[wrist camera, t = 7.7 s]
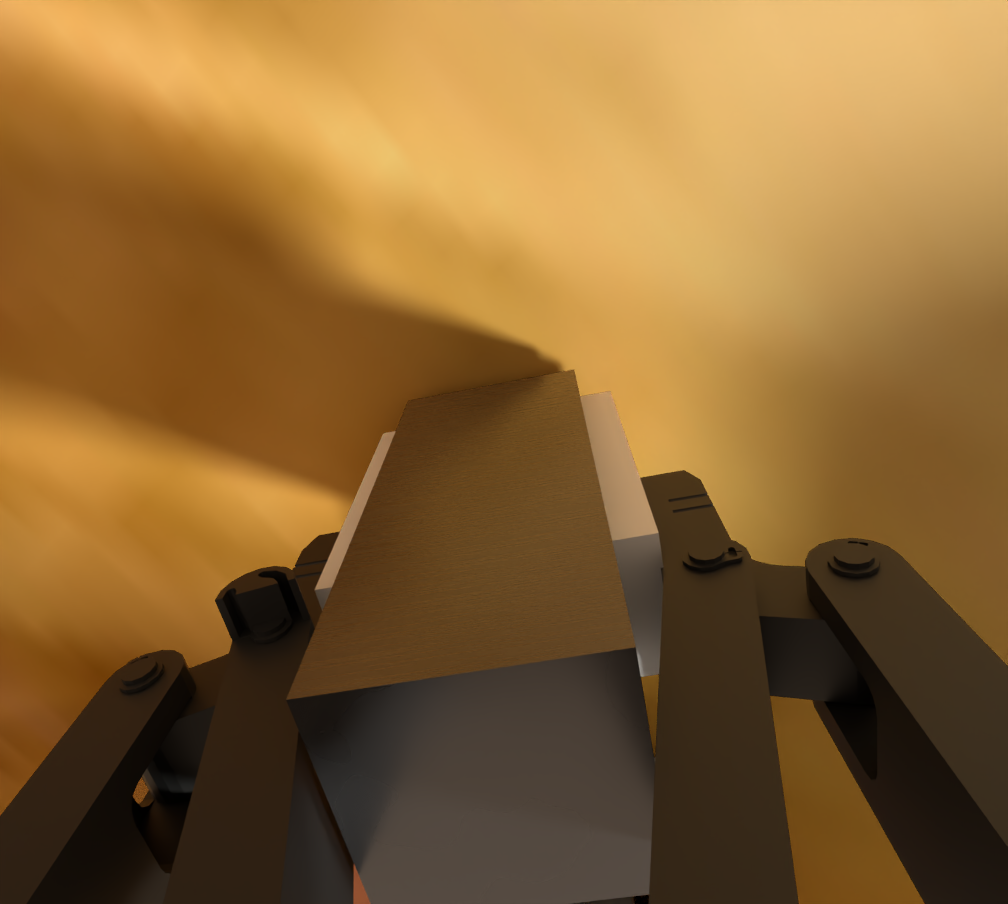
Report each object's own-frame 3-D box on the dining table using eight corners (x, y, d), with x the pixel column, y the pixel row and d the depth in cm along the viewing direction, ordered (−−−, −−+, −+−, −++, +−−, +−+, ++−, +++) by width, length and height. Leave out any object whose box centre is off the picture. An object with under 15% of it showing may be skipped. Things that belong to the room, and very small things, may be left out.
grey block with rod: (574, 369, 17) (635, 647, 8) (660, 863, 24) (747, 1323, 15) (268, 427, 18) (6, 741, 9) (435, 890, 25) (385, 1344, 15)
